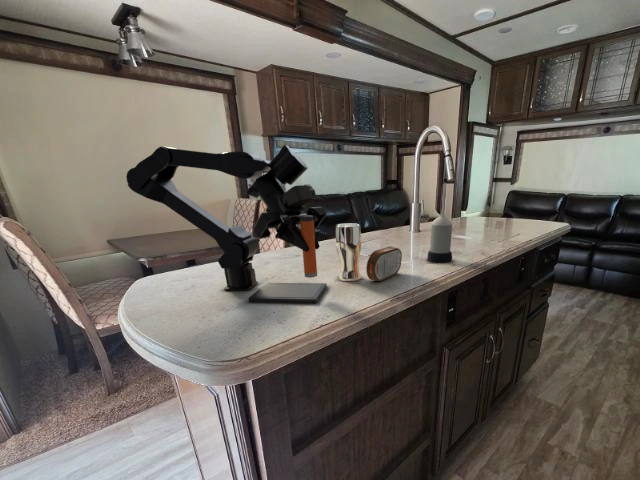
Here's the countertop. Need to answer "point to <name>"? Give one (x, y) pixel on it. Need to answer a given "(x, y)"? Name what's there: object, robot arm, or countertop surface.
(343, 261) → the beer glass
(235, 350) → the countertop surface
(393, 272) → the tin
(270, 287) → the tablet
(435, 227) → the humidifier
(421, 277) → the countertop surface
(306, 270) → the orange cylinder
